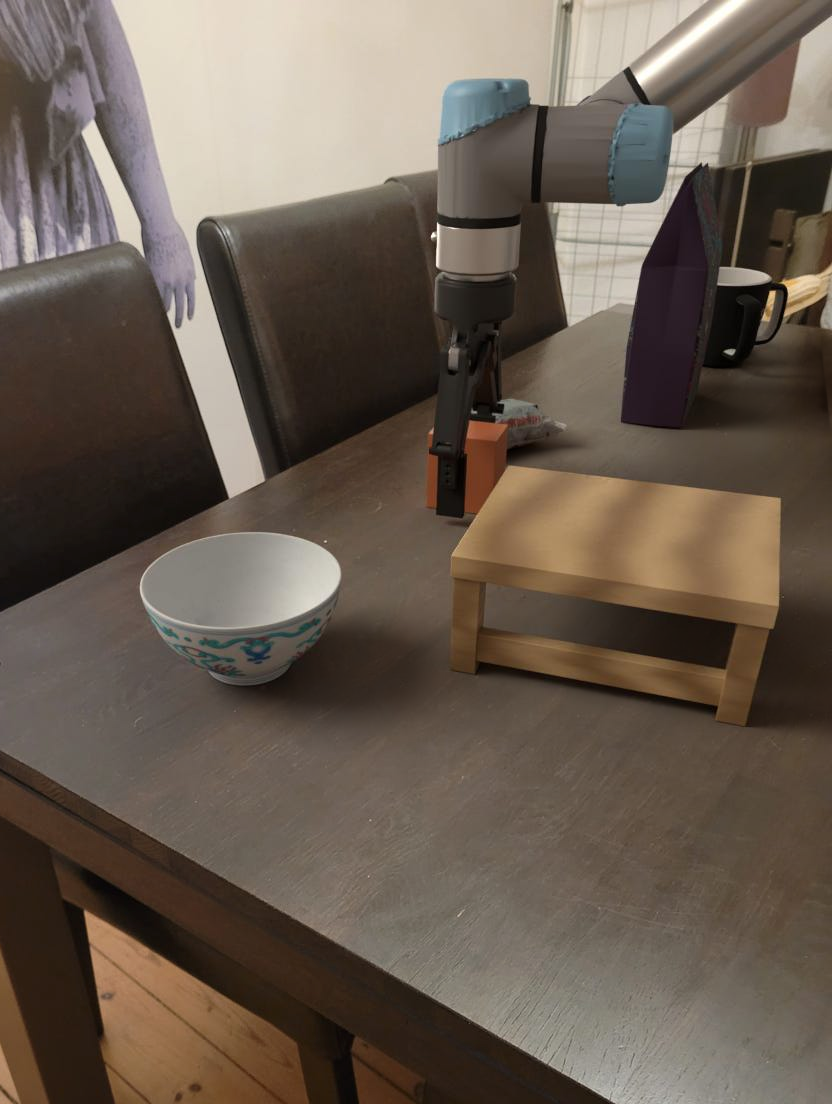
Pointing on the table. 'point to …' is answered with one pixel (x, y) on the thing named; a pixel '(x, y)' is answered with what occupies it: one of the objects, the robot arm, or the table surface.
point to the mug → (742, 315)
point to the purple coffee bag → (674, 309)
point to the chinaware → (242, 602)
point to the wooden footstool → (623, 576)
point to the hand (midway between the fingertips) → (465, 493)
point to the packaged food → (526, 423)
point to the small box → (475, 464)
